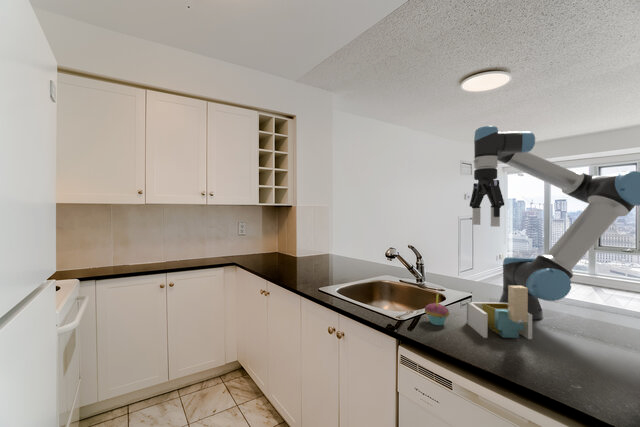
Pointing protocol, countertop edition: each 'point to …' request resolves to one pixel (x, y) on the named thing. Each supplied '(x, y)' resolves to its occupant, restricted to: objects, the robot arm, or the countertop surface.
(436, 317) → the cupcake
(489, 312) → the flower pot
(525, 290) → the rod
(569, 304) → the countertop surface
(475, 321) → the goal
